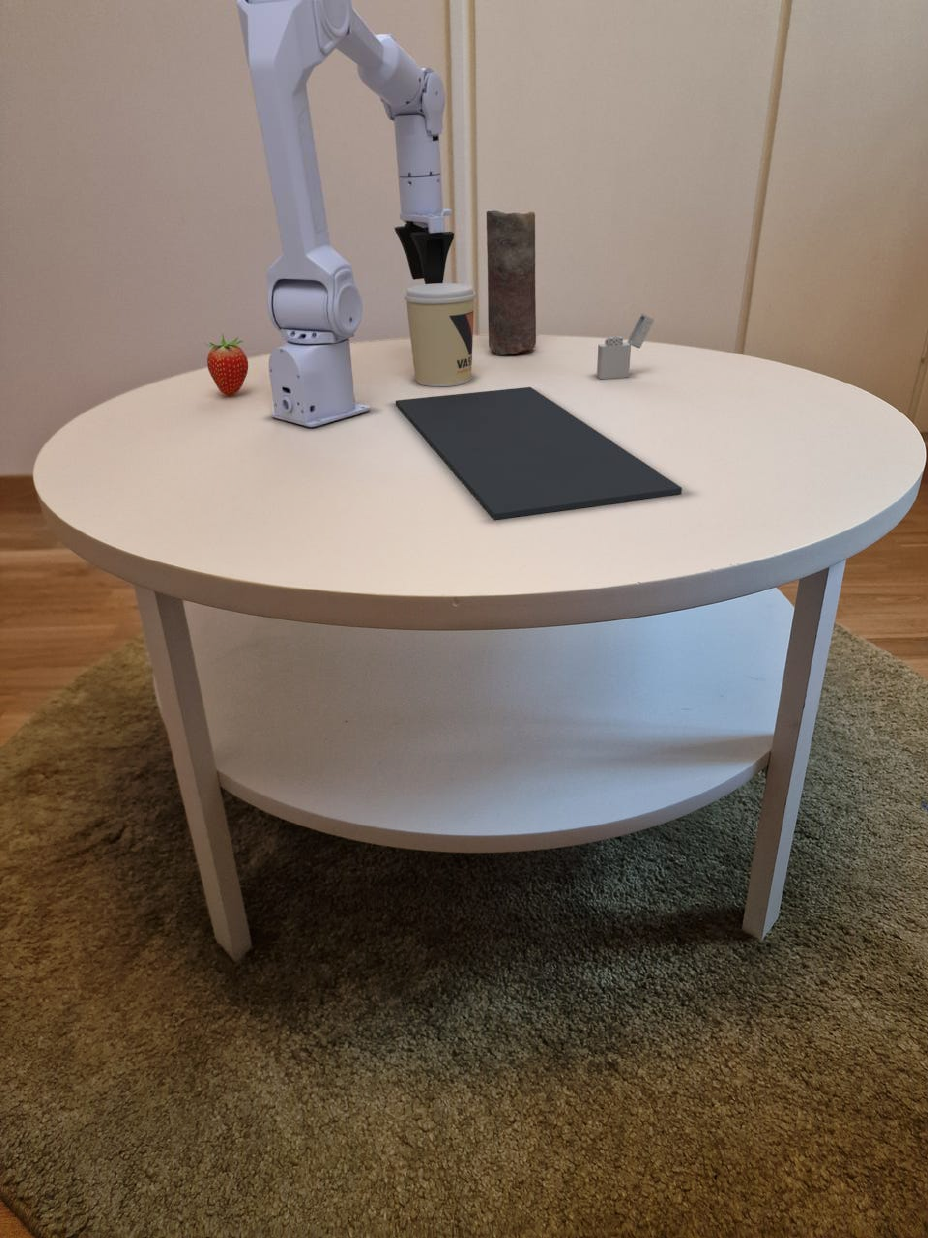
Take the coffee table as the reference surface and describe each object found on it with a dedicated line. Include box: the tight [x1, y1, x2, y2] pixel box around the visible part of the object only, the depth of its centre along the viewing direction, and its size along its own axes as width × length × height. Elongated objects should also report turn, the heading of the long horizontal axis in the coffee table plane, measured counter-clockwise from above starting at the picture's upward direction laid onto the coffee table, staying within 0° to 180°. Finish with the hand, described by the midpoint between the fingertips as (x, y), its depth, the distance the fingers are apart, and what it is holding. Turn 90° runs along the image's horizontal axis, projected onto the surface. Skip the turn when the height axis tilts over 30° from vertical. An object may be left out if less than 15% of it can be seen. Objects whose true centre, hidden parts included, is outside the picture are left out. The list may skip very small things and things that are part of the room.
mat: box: [395, 386, 683, 521], centre depth 92 cm, size 40×18×1 cm, turn 16°
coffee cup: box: [404, 282, 476, 387], centre depth 115 cm, size 9×9×12 cm
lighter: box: [596, 313, 655, 380], centre depth 115 cm, size 7×2×8 cm, turn 100°
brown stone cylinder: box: [486, 210, 537, 356], centre depth 128 cm, size 8×7×20 cm
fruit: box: [204, 333, 249, 397], centre depth 112 cm, size 5×5×8 cm
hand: (426, 282), depth 121 cm, fingers open, 7 cm apart
